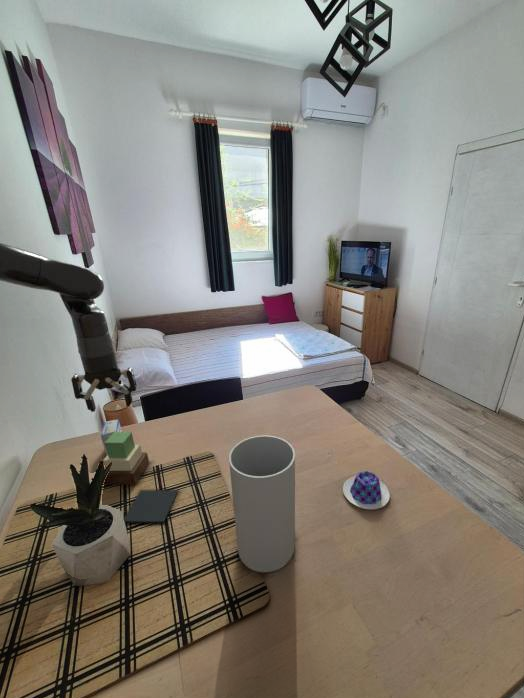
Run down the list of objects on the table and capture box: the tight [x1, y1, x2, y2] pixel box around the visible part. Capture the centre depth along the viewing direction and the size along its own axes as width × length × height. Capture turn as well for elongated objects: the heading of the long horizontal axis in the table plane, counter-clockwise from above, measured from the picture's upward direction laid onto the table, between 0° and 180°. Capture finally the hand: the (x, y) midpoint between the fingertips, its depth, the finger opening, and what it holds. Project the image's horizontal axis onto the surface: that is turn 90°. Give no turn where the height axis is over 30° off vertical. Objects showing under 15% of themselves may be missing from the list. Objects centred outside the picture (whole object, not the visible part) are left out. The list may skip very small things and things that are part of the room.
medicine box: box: [100, 419, 123, 456], centre depth 102 cm, size 8×4×9 cm, turn 22°
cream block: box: [102, 444, 143, 471], centre depth 91 cm, size 7×7×4 cm
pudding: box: [342, 470, 391, 510], centre depth 85 cm, size 12×12×5 cm
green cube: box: [105, 431, 136, 458], centre depth 90 cm, size 5×5×5 cm
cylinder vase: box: [228, 434, 296, 573], centre depth 67 cm, size 12×12×25 cm
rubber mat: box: [123, 489, 179, 524], centre depth 82 cm, size 10×10×1 cm
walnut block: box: [103, 451, 150, 486], centre depth 93 cm, size 9×9×4 cm
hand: (111, 407), depth 87 cm, fingers open, 8 cm apart
